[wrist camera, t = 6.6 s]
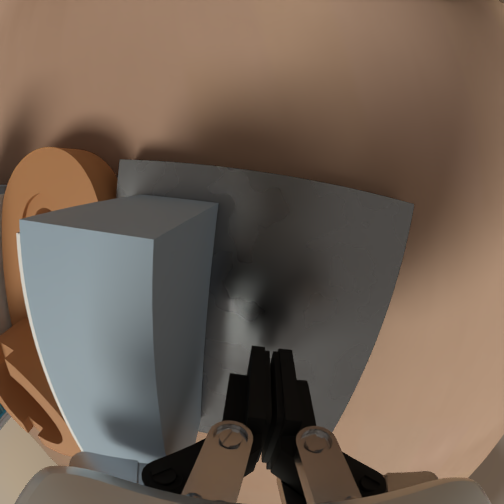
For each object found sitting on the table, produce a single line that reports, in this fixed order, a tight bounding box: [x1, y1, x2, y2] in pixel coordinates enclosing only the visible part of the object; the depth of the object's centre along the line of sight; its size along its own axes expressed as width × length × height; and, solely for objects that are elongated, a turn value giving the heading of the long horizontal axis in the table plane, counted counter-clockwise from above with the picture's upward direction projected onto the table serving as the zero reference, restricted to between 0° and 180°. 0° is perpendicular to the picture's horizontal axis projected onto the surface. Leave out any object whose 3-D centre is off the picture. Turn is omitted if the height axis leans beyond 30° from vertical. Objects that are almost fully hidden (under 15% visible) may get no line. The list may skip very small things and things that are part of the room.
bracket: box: [0, 147, 118, 456], centre depth 11 cm, size 18×8×7 cm, turn 165°
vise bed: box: [116, 159, 414, 433], centre depth 13 cm, size 14×16×2 cm
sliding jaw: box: [16, 194, 219, 464], centre depth 9 cm, size 4×13×7 cm, turn 172°
